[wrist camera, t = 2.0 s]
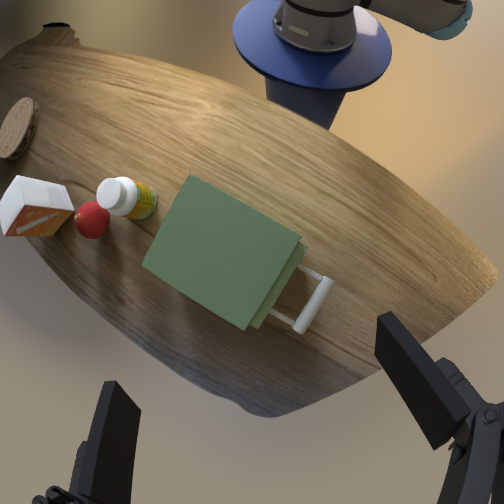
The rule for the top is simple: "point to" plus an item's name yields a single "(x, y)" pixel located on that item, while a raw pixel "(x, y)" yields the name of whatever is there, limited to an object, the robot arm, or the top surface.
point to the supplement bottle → (126, 198)
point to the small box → (34, 207)
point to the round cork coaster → (18, 128)
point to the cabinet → (219, 251)
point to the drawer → (291, 264)
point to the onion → (92, 220)
